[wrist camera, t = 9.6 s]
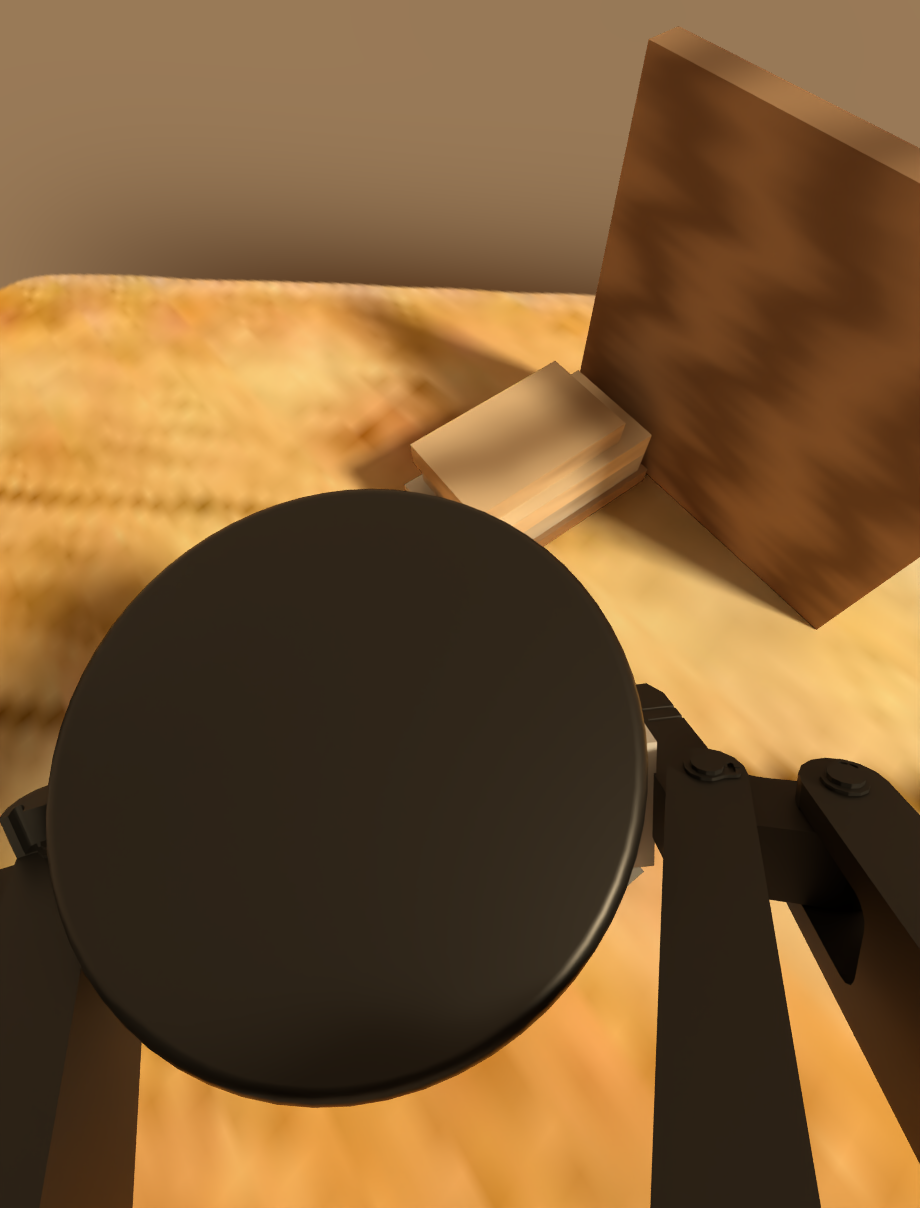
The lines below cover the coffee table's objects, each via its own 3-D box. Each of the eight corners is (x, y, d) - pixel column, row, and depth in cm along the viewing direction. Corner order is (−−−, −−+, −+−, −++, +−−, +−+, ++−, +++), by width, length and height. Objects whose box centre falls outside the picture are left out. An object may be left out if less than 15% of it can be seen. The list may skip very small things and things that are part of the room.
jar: (584, 942, 17) (780, 1072, 6) (309, 1002, 16) (-20, 1258, 6) (515, 661, 21) (558, 426, 10) (291, 703, 20) (74, 507, 9)
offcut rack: (399, 511, 34) (326, 178, 17) (590, 395, 37) (678, 26, 21) (626, 787, 27) (854, 663, 11) (835, 613, 30) (1254, 317, 14)
